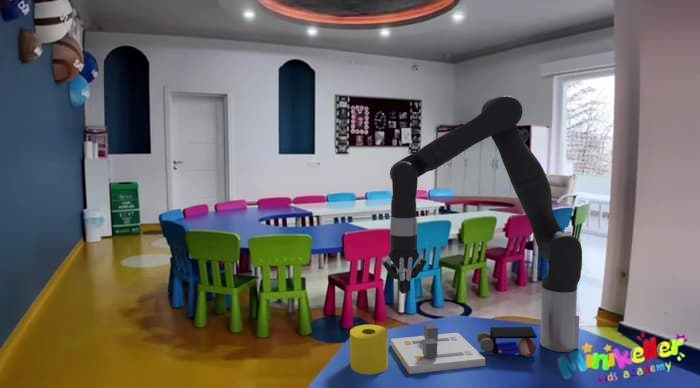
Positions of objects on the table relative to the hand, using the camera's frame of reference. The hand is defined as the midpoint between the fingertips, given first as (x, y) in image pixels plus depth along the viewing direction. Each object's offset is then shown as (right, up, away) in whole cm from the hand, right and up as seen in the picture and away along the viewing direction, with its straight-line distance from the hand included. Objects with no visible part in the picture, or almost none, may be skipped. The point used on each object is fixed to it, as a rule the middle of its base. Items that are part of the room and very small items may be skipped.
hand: (404, 292), depth 135 cm
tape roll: (-10, -18, -7) cm, 22 cm away
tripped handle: (+8, -14, +3) cm, 17 cm away
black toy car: (+28, -17, -2) cm, 33 cm away
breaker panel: (+9, -17, -2) cm, 19 cm away
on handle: (+6, -15, -8) cm, 18 cm away
